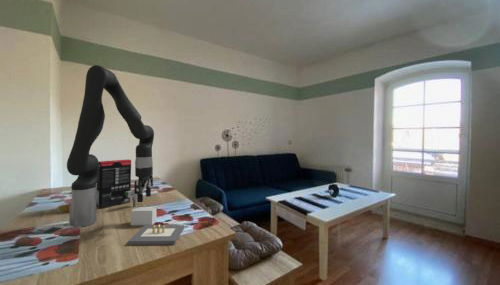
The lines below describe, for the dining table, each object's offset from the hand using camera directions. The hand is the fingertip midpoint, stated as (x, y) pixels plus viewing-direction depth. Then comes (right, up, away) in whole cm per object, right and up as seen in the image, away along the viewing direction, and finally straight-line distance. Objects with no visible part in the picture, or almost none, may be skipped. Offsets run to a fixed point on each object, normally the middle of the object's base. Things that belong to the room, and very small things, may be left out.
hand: (144, 199), depth 99 cm
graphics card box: (-32, -11, +26) cm, 42 cm away
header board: (+12, -13, -12) cm, 21 cm away
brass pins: (+12, -11, -12) cm, 20 cm away
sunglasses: (-50, -11, +18) cm, 54 cm away
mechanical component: (-18, -11, +22) cm, 31 cm away
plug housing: (0, -12, 0) cm, 12 cm away
